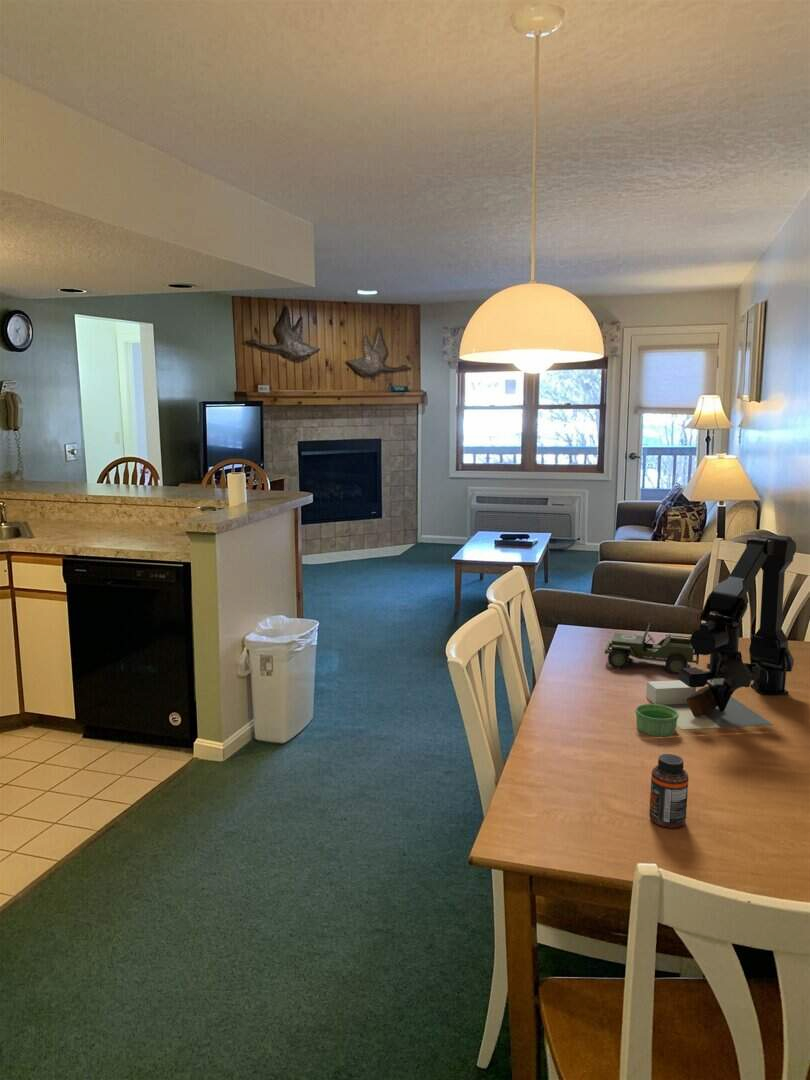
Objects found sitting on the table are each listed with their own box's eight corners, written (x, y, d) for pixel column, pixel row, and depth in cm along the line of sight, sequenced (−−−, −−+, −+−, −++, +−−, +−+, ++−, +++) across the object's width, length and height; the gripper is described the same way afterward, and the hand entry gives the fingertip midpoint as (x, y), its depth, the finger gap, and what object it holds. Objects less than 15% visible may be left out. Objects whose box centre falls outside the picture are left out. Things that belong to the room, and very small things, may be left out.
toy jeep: (608, 655, 224) (609, 618, 223) (700, 665, 216) (703, 626, 214) (602, 667, 213) (604, 628, 211) (700, 679, 205) (703, 638, 203)
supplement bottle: (643, 812, 136) (646, 751, 134) (676, 811, 136) (680, 750, 135) (657, 830, 130) (661, 766, 128) (691, 829, 130) (696, 765, 129)
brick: (710, 713, 175) (700, 693, 175) (694, 718, 177) (684, 699, 178) (725, 700, 183) (715, 681, 184) (710, 705, 185) (700, 687, 186)
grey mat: (726, 693, 193) (726, 692, 193) (773, 725, 174) (773, 724, 174) (643, 697, 191) (643, 696, 190) (681, 730, 171) (681, 729, 171)
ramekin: (680, 726, 173) (681, 708, 172) (673, 741, 165) (674, 722, 165) (639, 719, 177) (640, 701, 177) (630, 733, 169) (631, 714, 169)
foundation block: (685, 695, 191) (686, 680, 191) (695, 703, 186) (696, 687, 186) (646, 697, 190) (647, 681, 189) (655, 704, 185) (656, 688, 185)
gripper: (703, 658, 166) (700, 728, 169) (784, 653, 169) (780, 721, 171) (678, 643, 177) (676, 709, 180) (755, 638, 180) (752, 703, 182)
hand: (721, 711), depth 178 cm, fingers closed
